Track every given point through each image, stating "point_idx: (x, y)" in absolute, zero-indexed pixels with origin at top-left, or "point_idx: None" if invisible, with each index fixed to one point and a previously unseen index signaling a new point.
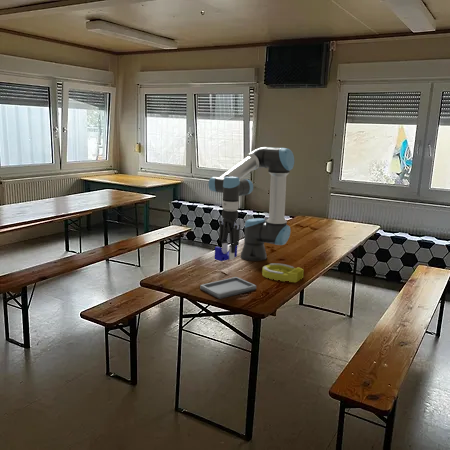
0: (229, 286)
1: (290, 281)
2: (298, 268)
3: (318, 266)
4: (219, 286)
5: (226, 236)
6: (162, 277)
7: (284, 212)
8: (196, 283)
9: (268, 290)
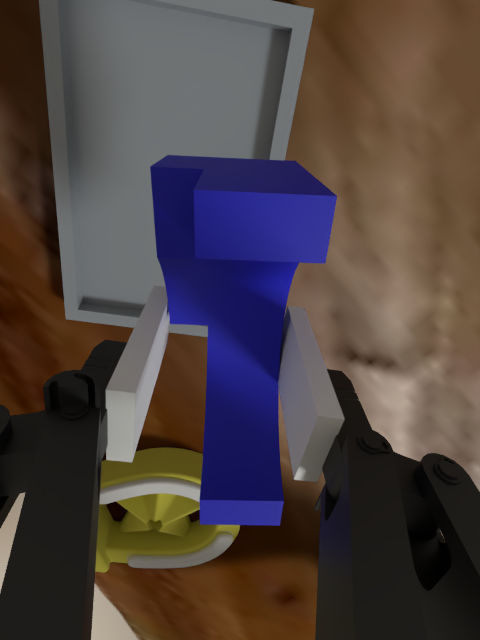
0: None
1: None
2: None
3: (146, 616)
4: (223, 157)
5: (327, 589)
6: None
7: None
8: (405, 95)
9: (30, 341)
